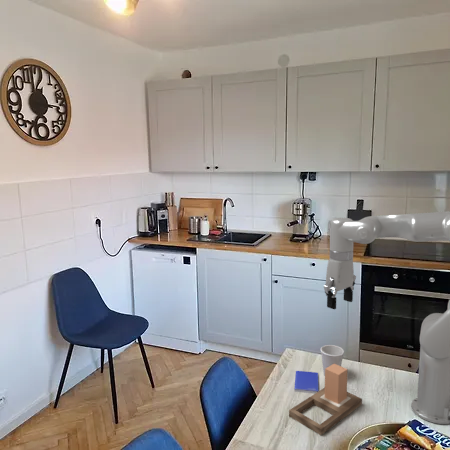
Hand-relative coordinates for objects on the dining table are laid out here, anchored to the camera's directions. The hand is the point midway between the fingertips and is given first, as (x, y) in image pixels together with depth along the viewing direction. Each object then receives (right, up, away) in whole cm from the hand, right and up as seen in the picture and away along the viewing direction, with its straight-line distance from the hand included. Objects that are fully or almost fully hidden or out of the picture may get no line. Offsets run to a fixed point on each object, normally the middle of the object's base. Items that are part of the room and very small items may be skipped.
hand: (339, 304), depth 134 cm
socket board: (-7, -32, -8) cm, 34 cm away
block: (-3, -29, -5) cm, 30 cm away
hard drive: (-10, -30, +8) cm, 33 cm away
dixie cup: (+1, -29, +13) cm, 32 cm away
